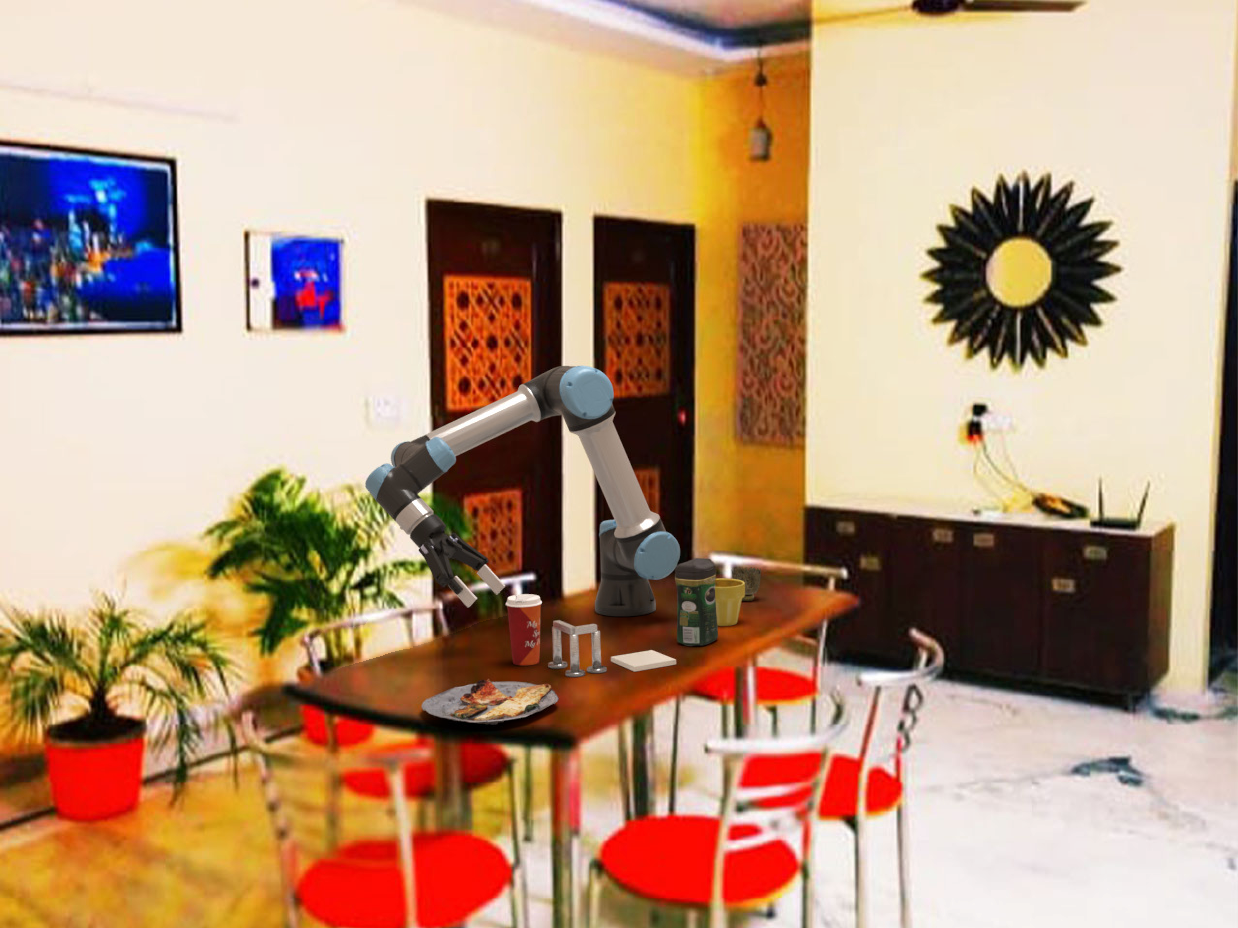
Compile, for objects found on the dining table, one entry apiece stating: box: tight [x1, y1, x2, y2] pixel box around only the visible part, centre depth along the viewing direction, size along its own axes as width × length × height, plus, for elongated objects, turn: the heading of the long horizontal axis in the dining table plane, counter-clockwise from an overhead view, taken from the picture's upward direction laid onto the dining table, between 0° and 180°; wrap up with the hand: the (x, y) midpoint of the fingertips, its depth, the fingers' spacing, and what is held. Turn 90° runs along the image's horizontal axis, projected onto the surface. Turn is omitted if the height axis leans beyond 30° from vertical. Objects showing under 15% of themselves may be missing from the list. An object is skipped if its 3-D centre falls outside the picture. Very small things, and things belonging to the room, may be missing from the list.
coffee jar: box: [674, 557, 719, 647], centre depth 288 cm, size 10×8×19 cm
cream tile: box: [610, 649, 677, 672], centre depth 272 cm, size 10×10×1 cm
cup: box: [731, 566, 762, 602], centre depth 331 cm, size 8×7×8 cm
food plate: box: [421, 678, 560, 726], centre depth 241 cm, size 25×23×4 cm
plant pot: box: [715, 578, 745, 627], centre depth 306 cm, size 10×10×10 cm
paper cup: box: [505, 593, 543, 667], centre depth 275 cm, size 8×8×14 cm
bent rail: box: [547, 619, 607, 678], centre depth 268 cm, size 12×9×10 cm
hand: (487, 596), depth 276 cm, fingers open, 13 cm apart
